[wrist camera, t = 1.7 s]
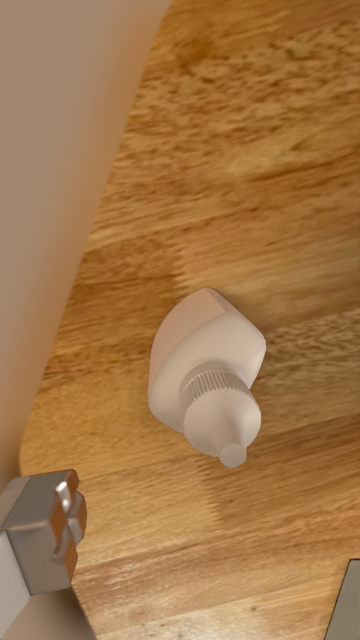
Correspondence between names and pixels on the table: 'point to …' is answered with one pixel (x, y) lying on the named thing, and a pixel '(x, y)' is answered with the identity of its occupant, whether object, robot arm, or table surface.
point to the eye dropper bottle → (207, 375)
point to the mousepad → (347, 607)
